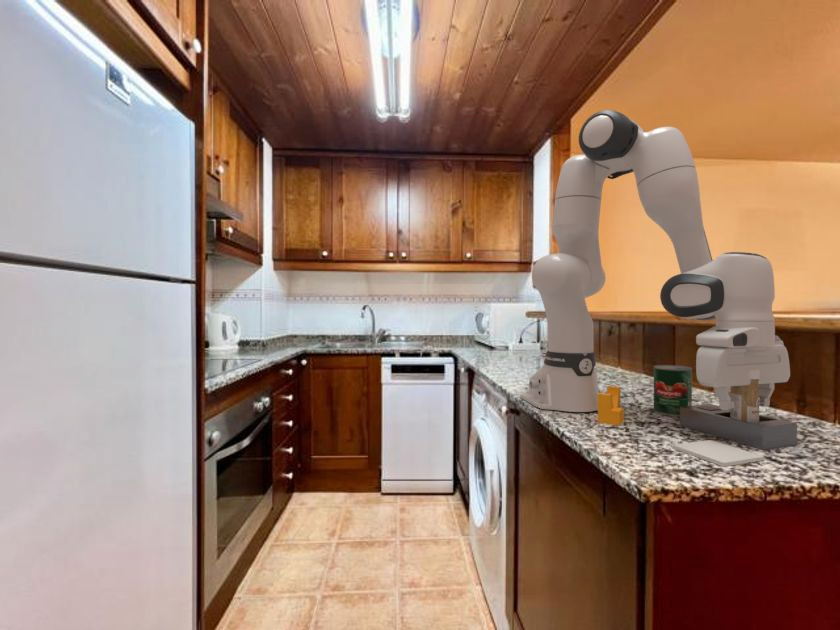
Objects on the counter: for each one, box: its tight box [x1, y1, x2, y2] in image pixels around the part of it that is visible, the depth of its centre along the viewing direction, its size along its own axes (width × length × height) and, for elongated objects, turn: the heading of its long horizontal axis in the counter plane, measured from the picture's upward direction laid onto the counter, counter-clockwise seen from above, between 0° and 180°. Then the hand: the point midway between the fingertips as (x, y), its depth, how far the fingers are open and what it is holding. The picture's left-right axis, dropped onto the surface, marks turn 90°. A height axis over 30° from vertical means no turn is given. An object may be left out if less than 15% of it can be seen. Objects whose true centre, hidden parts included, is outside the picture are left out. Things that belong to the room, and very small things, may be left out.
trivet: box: [671, 439, 766, 468], centre depth 68 cm, size 9×9×1 cm
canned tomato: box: [653, 364, 693, 417], centre depth 96 cm, size 8×8×11 cm
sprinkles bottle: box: [729, 369, 760, 423], centre depth 77 cm, size 5×5×14 cm
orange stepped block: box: [597, 385, 626, 426], centre depth 92 cm, size 12×4×6 cm, turn 144°
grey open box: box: [679, 403, 798, 451], centre depth 79 cm, size 16×9×4 cm, turn 17°
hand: (744, 407), depth 77 cm, fingers open, 8 cm apart
